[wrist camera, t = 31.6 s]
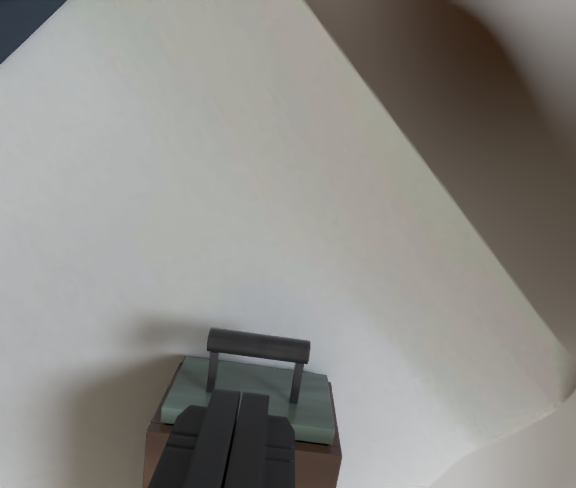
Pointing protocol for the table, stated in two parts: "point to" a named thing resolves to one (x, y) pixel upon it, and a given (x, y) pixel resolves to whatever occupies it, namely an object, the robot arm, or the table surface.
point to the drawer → (257, 382)
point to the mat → (22, 21)
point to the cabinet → (308, 457)
